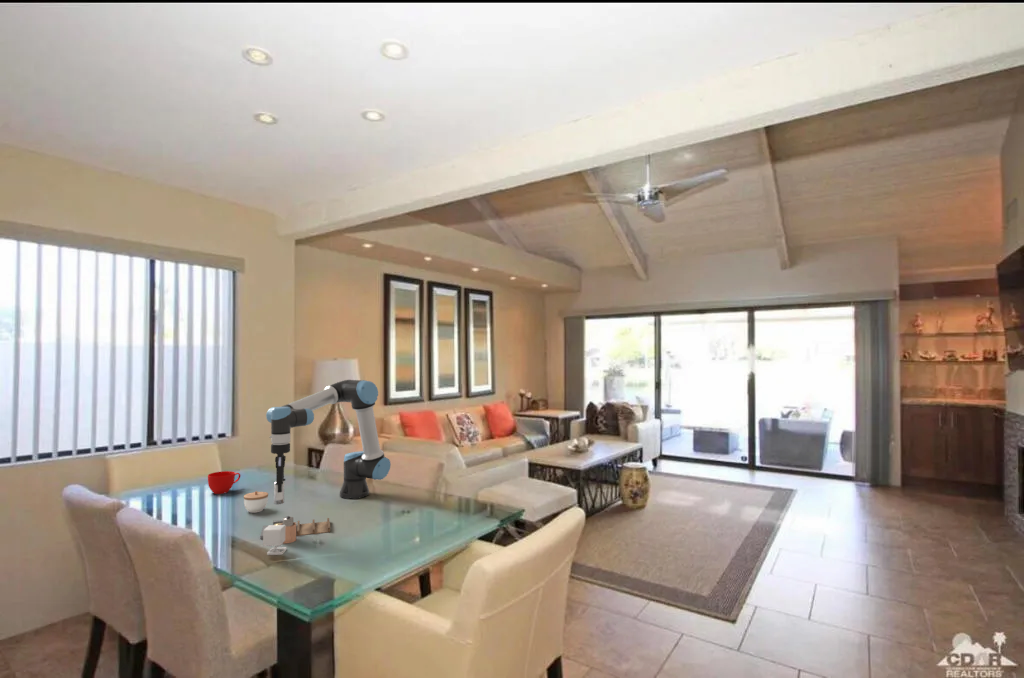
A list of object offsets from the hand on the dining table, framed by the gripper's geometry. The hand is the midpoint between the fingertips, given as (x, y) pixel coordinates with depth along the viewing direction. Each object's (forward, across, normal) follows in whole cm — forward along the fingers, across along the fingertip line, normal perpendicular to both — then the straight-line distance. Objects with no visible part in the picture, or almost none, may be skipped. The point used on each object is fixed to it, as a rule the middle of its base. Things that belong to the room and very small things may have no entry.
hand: (279, 498), depth 222 cm
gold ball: (+15, 0, 0) cm, 15 cm away
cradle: (+15, -1, 0) cm, 15 cm away
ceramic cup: (+16, -79, -31) cm, 86 cm away
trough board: (+15, 0, +14) cm, 20 cm away
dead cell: (+14, +12, +4) cm, 19 cm away
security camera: (+15, +23, 0) cm, 28 cm away
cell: (+2, 0, 0) cm, 2 cm away
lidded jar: (+15, -37, -12) cm, 42 cm away
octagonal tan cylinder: (+15, +12, +4) cm, 19 cm away
